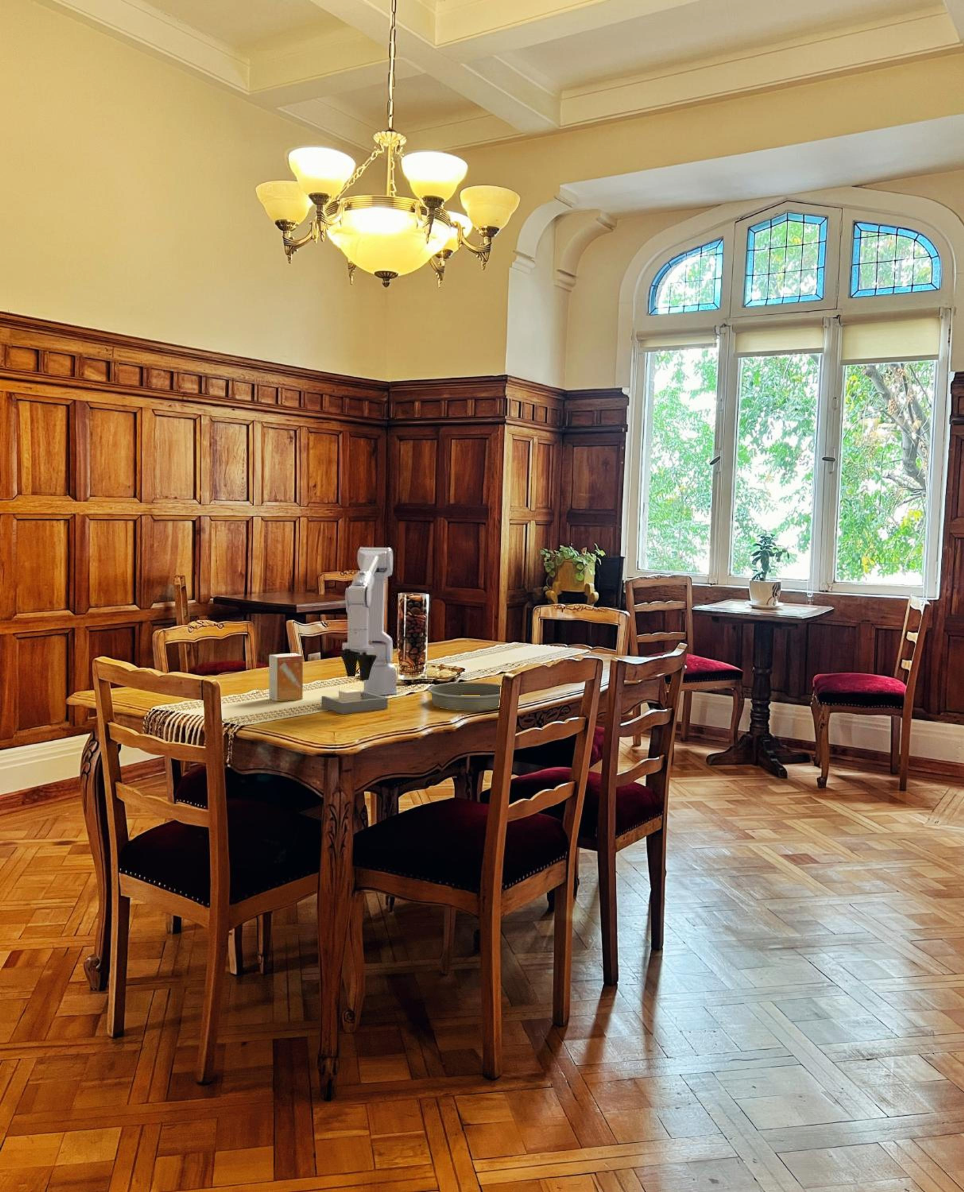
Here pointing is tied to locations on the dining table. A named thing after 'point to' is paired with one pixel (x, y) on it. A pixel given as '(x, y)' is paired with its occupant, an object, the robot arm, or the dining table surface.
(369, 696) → the gray tray
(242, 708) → the dining table surface
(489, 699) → the cake pan
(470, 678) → the dining table surface
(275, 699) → the small box
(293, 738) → the dining table surface
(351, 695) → the ivory cube
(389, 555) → the robot arm
